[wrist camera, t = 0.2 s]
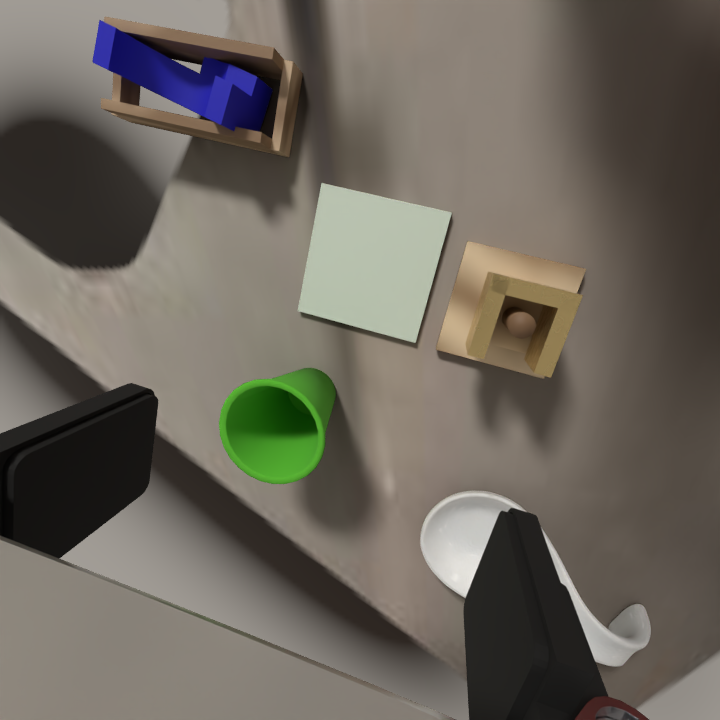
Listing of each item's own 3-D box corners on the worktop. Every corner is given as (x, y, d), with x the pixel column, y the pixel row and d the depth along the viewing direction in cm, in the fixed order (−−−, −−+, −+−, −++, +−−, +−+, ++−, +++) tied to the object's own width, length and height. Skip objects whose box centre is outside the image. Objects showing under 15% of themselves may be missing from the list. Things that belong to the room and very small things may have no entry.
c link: (488, 271, 32) (493, 273, 28) (566, 290, 31) (582, 295, 27) (465, 343, 34) (467, 355, 30) (538, 363, 33) (551, 377, 29)
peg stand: (467, 241, 36) (473, 237, 28) (582, 268, 35) (624, 272, 27) (436, 347, 39) (433, 372, 31) (541, 375, 38) (568, 409, 30)
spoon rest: (402, 534, 45) (395, 583, 39) (460, 453, 42) (463, 492, 35) (592, 649, 44) (619, 721, 37) (669, 577, 41) (714, 642, 34)
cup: (324, 446, 44) (286, 505, 34) (257, 396, 45) (199, 439, 34) (371, 384, 42) (346, 428, 31) (300, 331, 42) (251, 356, 31)
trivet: (323, 184, 38) (321, 183, 37) (451, 213, 36) (451, 212, 36) (299, 310, 41) (297, 310, 41) (415, 341, 40) (415, 342, 39)
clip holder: (135, 41, 38) (96, 14, 34) (302, 73, 36) (283, 49, 32) (130, 122, 40) (92, 106, 36) (289, 157, 38) (269, 144, 34)
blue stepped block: (272, 89, 36) (238, 61, 30) (256, 142, 38) (220, 125, 32) (157, 34, 37) (103, -3, 31) (145, 88, 38) (92, 62, 33)
